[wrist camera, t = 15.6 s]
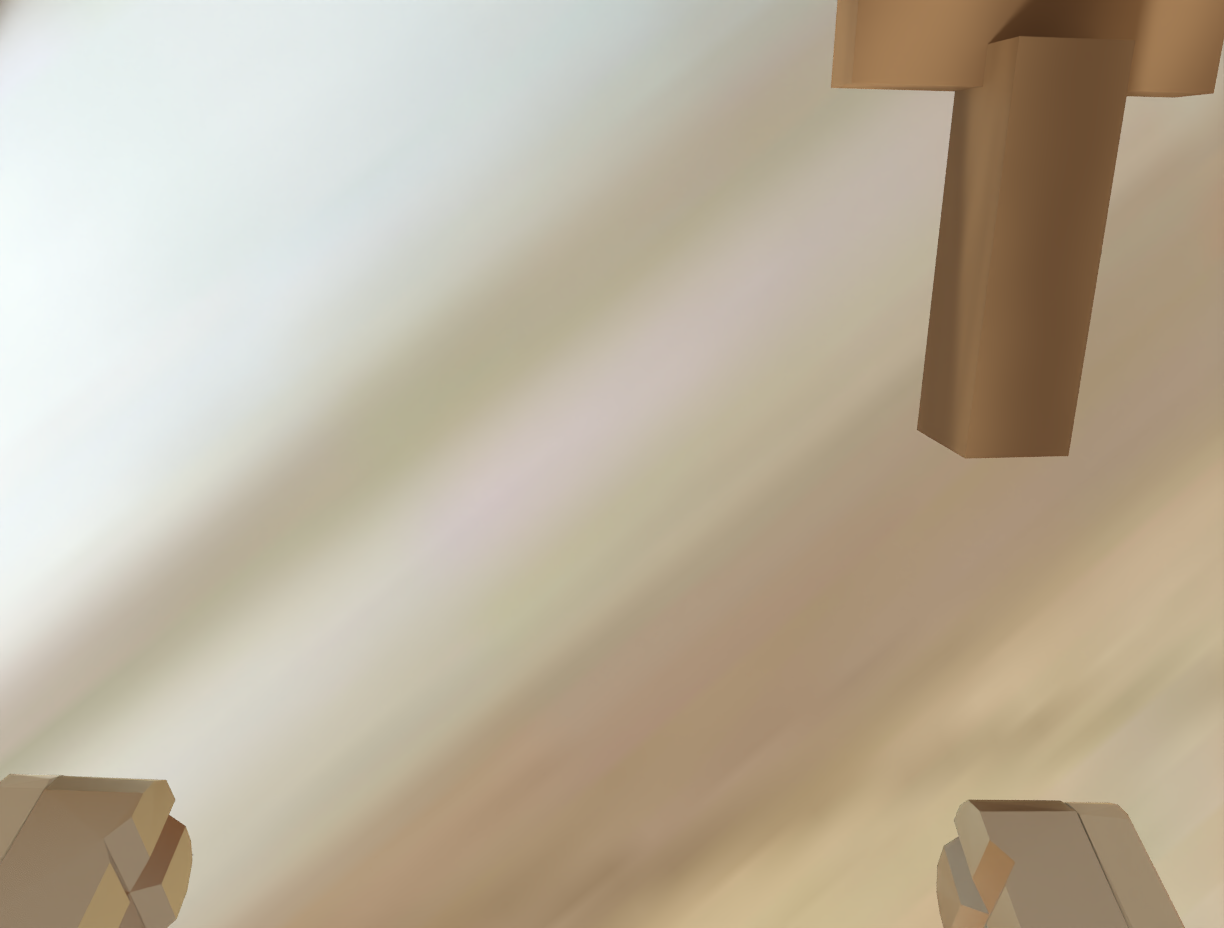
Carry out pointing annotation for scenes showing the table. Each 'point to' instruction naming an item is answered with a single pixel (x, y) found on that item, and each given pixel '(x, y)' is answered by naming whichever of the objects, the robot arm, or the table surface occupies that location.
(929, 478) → the table surface
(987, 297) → the board with handle
